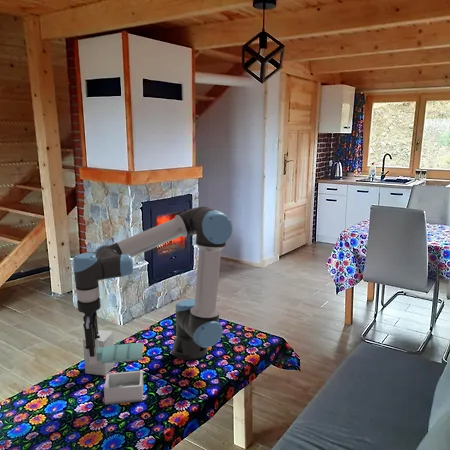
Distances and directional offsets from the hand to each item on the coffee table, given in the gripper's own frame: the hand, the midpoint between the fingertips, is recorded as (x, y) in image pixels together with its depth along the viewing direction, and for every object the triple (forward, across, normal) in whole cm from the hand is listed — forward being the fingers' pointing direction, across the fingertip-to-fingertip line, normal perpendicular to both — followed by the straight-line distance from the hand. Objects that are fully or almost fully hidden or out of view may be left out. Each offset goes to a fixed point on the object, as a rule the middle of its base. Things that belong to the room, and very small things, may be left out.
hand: (94, 359), depth 150 cm
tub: (+15, 0, +10) cm, 18 cm away
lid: (0, 0, +8) cm, 8 cm away
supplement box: (+15, -19, -1) cm, 24 cm away
